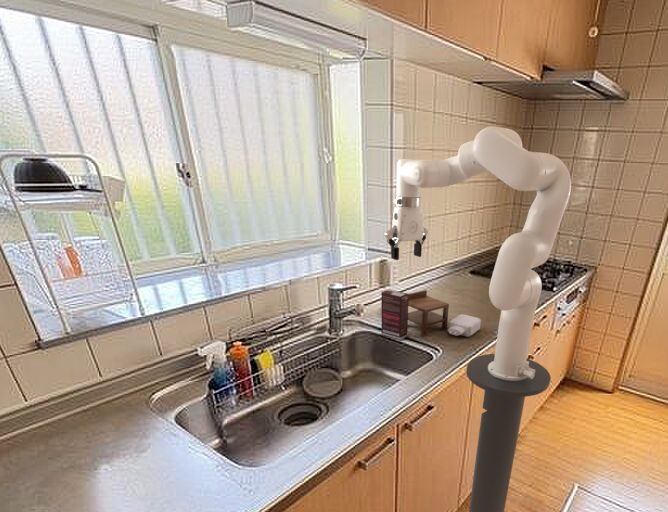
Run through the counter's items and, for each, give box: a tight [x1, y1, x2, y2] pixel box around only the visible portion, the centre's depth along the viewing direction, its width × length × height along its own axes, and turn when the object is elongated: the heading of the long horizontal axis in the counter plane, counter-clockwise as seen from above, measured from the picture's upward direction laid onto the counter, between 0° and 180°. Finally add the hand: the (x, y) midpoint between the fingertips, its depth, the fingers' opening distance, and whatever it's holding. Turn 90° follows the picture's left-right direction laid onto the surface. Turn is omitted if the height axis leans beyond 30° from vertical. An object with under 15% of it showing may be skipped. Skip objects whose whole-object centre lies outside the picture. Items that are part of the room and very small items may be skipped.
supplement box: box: [380, 289, 410, 341], centre depth 147 cm, size 9×5×16 cm, turn 59°
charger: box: [447, 313, 482, 338], centre depth 155 cm, size 5×9×15 cm
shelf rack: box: [408, 289, 450, 337], centre depth 156 cm, size 13×12×12 cm
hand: (406, 257), depth 139 cm, fingers open, 9 cm apart
